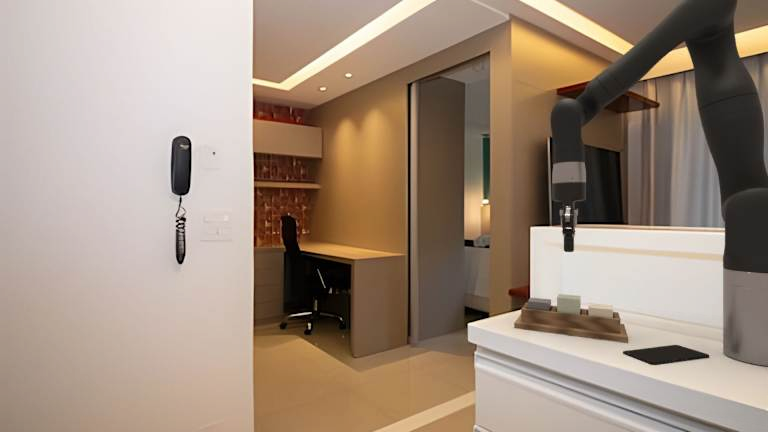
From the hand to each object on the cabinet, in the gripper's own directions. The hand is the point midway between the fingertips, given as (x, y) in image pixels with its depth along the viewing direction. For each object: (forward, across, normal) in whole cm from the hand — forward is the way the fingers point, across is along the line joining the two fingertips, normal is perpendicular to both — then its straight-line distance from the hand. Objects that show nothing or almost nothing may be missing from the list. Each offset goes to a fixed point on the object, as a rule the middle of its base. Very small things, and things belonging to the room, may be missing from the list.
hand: (568, 251), depth 95 cm
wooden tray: (+19, 0, 0) cm, 19 cm away
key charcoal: (+18, 0, +7) cm, 19 cm away
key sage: (+16, 0, 0) cm, 16 cm away
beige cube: (+18, 0, -7) cm, 19 cm away
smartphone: (+20, -11, -18) cm, 29 cm away
